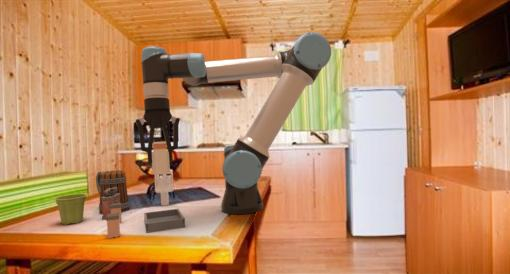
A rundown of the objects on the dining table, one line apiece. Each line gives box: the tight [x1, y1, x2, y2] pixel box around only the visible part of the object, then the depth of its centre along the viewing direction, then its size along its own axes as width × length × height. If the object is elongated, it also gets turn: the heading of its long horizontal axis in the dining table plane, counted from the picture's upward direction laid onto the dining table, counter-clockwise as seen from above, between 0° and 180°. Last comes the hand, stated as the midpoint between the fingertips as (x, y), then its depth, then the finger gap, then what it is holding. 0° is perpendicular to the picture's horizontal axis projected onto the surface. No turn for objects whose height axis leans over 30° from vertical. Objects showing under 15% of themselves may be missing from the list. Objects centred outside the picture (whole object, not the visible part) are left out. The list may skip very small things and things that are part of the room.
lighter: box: [101, 187, 120, 221], centre depth 109 cm, size 8×3×10 cm, turn 168°
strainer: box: [153, 169, 174, 207], centre depth 124 cm, size 7×7×15 cm
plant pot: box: [54, 193, 88, 225], centre depth 103 cm, size 9×9×9 cm
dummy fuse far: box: [110, 203, 123, 224], centre depth 101 cm, size 3×3×6 cm
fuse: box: [152, 140, 168, 176], centre depth 97 cm, size 4×4×10 cm
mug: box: [95, 169, 130, 215], centre depth 119 cm, size 16×11×15 cm
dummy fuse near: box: [105, 213, 121, 239], centre depth 87 cm, size 3×3×6 cm
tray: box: [143, 208, 186, 234], centre depth 97 cm, size 11×14×3 cm
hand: (161, 172), depth 97 cm, fingers closed on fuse, 4 cm apart
